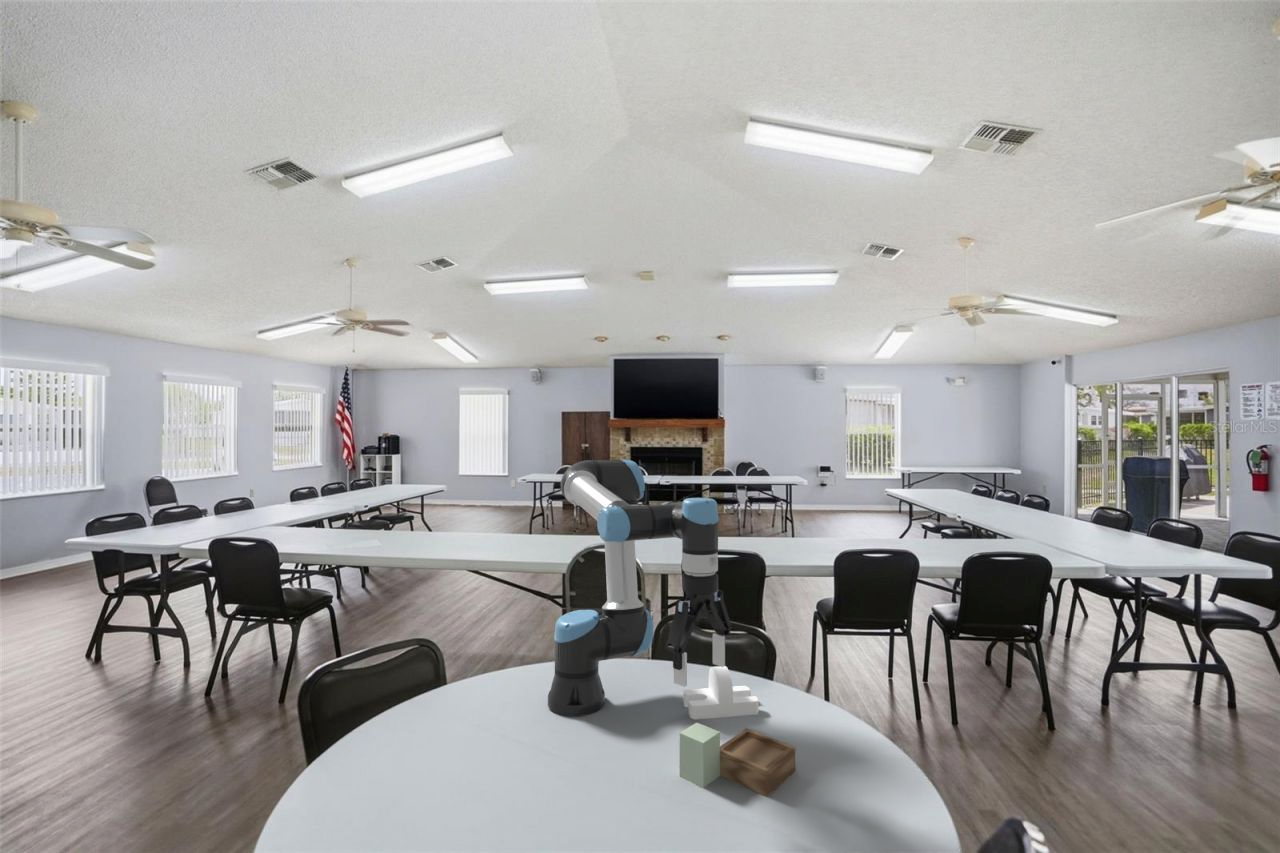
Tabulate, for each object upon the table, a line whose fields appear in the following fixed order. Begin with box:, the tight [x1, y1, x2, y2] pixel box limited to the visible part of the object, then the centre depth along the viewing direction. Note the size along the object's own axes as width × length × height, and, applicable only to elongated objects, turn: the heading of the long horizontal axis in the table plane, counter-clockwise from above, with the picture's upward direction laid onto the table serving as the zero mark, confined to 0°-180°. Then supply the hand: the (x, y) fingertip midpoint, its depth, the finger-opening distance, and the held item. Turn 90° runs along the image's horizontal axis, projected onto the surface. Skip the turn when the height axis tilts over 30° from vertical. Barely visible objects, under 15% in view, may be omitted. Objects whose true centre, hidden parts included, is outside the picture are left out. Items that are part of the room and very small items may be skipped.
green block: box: [679, 722, 721, 789], centre depth 121 cm, size 6×6×9 cm
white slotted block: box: [683, 665, 760, 720], centre depth 151 cm, size 10×18×11 cm, turn 100°
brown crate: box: [720, 728, 796, 798], centre depth 122 cm, size 12×12×5 cm
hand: (700, 674), depth 121 cm, fingers open, 13 cm apart
